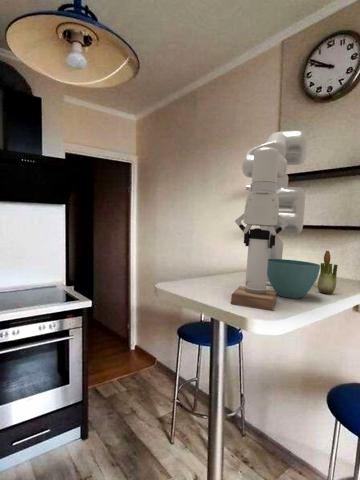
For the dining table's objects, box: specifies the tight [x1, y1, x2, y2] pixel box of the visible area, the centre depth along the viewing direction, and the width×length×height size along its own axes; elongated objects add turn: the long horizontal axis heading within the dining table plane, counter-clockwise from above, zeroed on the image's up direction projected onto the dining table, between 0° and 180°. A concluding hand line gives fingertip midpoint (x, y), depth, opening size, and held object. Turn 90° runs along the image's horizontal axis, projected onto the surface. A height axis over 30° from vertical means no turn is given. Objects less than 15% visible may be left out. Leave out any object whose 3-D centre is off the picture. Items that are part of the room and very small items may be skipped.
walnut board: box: [230, 285, 277, 312], centre depth 90 cm, size 14×12×3 cm
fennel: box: [314, 250, 337, 289], centre depth 125 cm, size 8×8×16 cm
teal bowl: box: [267, 258, 321, 299], centre depth 103 cm, size 18×18×12 cm
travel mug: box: [244, 227, 270, 294], centre depth 90 cm, size 6×7×20 cm
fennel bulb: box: [317, 262, 339, 295], centre depth 111 cm, size 6×5×12 cm
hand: (258, 246), depth 90 cm, fingers open, 6 cm apart
